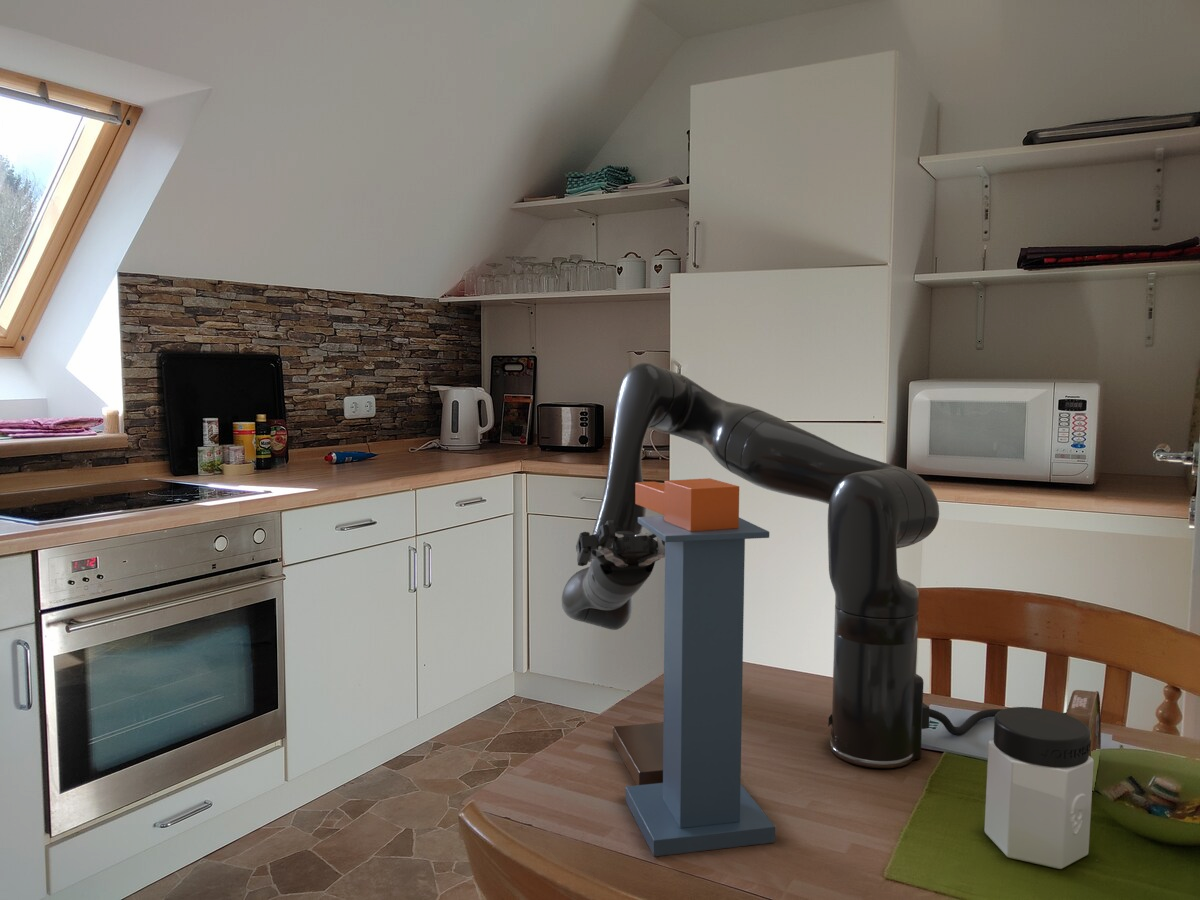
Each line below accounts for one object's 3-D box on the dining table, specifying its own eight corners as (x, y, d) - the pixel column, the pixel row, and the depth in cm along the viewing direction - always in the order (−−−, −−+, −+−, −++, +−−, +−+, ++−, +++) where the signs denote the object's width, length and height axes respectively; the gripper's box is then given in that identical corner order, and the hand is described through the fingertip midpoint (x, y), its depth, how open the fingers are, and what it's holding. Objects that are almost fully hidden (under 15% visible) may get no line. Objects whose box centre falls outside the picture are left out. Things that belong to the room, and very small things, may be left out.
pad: (684, 736, 112) (684, 720, 112) (719, 782, 100) (719, 764, 100) (612, 742, 111) (612, 726, 110) (639, 790, 98) (639, 772, 98)
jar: (1049, 879, 82) (1056, 749, 81) (968, 839, 88) (973, 718, 87) (1103, 850, 87) (1111, 726, 85) (1023, 814, 93) (1028, 699, 92)
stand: (734, 789, 99) (739, 512, 96) (775, 842, 88) (782, 532, 85) (625, 801, 96) (626, 516, 93) (653, 856, 85) (656, 537, 82)
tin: (1091, 805, 95) (1096, 726, 94) (1057, 797, 97) (1062, 720, 96) (1102, 752, 108) (1106, 682, 107) (1072, 746, 110) (1075, 677, 109)
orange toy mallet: (665, 502, 102) (666, 466, 102) (738, 528, 87) (739, 486, 86) (624, 504, 100) (624, 468, 100) (690, 531, 85) (691, 488, 85)
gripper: (564, 543, 123) (584, 498, 108) (667, 539, 126) (700, 495, 111) (569, 598, 120) (591, 560, 105) (674, 592, 123) (709, 554, 108)
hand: (647, 526), depth 108 cm, fingers open, 8 cm apart
